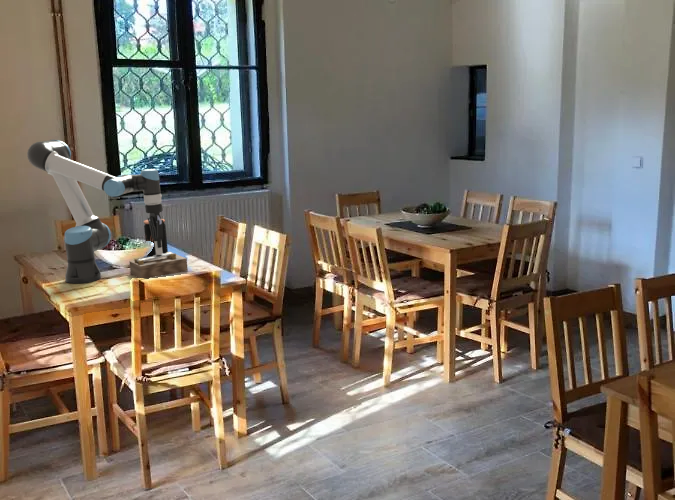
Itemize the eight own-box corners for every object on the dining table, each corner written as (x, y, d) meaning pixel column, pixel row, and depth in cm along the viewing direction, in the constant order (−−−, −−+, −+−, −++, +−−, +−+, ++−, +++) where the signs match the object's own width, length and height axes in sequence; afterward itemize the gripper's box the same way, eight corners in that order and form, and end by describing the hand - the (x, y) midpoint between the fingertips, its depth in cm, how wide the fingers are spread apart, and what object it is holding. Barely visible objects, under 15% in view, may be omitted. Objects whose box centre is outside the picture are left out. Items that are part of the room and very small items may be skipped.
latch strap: (139, 263, 321) (138, 260, 320) (136, 262, 323) (135, 259, 323) (173, 255, 330) (173, 252, 329) (170, 254, 332) (170, 251, 332)
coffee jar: (142, 256, 364) (139, 221, 360) (156, 252, 373) (153, 218, 369) (158, 257, 359) (155, 222, 355) (172, 253, 368) (169, 219, 364)
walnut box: (141, 279, 317) (139, 261, 315) (130, 273, 328) (128, 256, 326) (187, 271, 329) (186, 253, 328) (175, 265, 341) (174, 249, 339)
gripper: (166, 203, 319) (172, 254, 324) (155, 201, 329) (161, 250, 334) (150, 206, 315) (157, 257, 320) (140, 203, 325) (146, 253, 330)
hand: (159, 254), depth 327 cm, fingers closed
